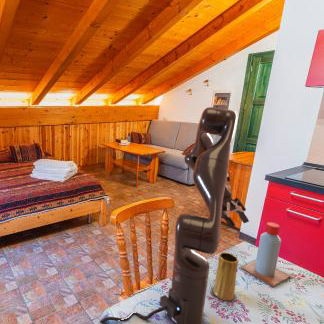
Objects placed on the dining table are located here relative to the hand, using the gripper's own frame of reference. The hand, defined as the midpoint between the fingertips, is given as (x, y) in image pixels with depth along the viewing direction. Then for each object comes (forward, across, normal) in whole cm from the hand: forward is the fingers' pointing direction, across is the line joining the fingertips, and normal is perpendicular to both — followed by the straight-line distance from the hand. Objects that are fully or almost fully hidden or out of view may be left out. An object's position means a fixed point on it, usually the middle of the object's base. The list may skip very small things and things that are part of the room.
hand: (240, 224), depth 100 cm
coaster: (+18, 0, +2) cm, 19 cm away
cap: (+6, 0, -9) cm, 11 cm away
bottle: (+18, 0, +2) cm, 18 cm away
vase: (+19, -24, +2) cm, 30 cm away
